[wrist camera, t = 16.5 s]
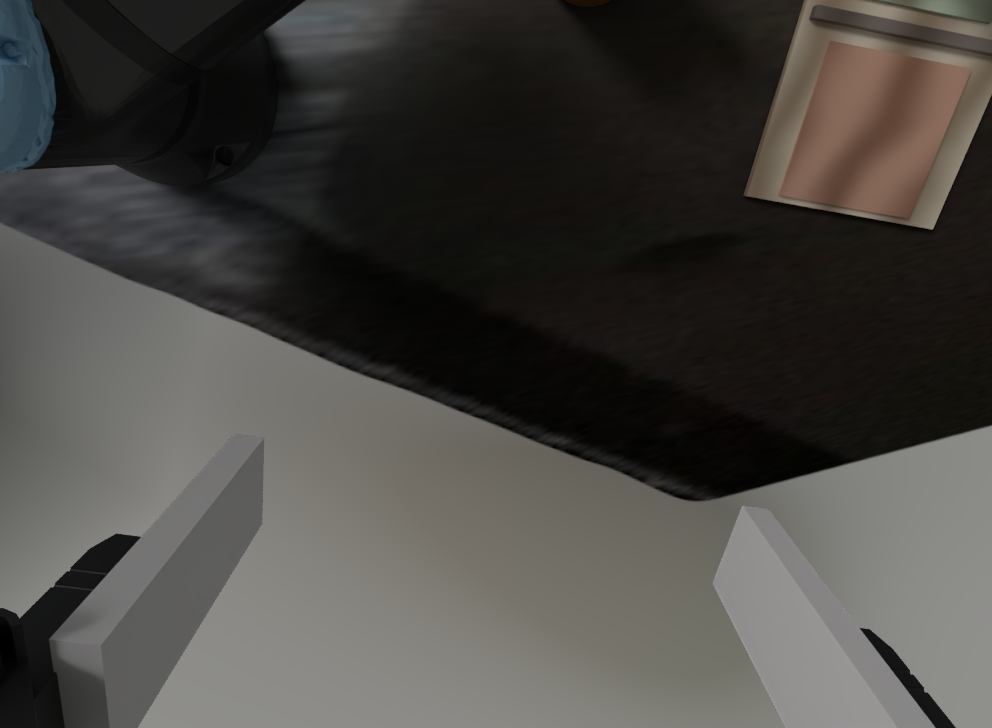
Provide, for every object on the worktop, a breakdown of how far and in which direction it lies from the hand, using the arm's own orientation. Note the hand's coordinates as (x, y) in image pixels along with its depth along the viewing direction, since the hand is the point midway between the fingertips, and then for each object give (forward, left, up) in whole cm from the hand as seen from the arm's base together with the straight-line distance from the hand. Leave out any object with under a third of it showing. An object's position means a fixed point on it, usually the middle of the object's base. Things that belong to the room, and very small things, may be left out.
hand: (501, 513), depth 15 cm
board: (+27, +22, -35) cm, 49 cm away
